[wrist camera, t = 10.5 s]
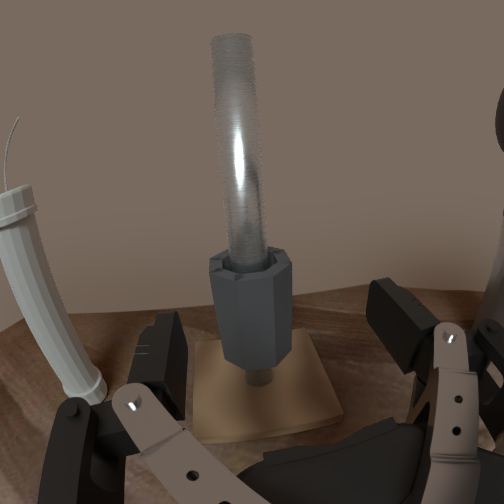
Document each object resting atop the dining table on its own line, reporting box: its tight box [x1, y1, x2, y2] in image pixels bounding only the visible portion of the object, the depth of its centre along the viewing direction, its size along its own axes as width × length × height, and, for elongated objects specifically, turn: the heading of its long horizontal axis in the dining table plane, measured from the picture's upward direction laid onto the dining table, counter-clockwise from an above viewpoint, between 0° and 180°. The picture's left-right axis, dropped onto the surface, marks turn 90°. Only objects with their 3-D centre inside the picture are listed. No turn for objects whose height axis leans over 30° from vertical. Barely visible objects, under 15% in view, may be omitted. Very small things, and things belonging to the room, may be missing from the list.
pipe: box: [0, 117, 107, 405], centre depth 20 cm, size 6×6×30 cm
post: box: [193, 33, 344, 444], centre depth 21 cm, size 14×14×32 cm
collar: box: [209, 246, 292, 371], centre depth 23 cm, size 6×6×9 cm
